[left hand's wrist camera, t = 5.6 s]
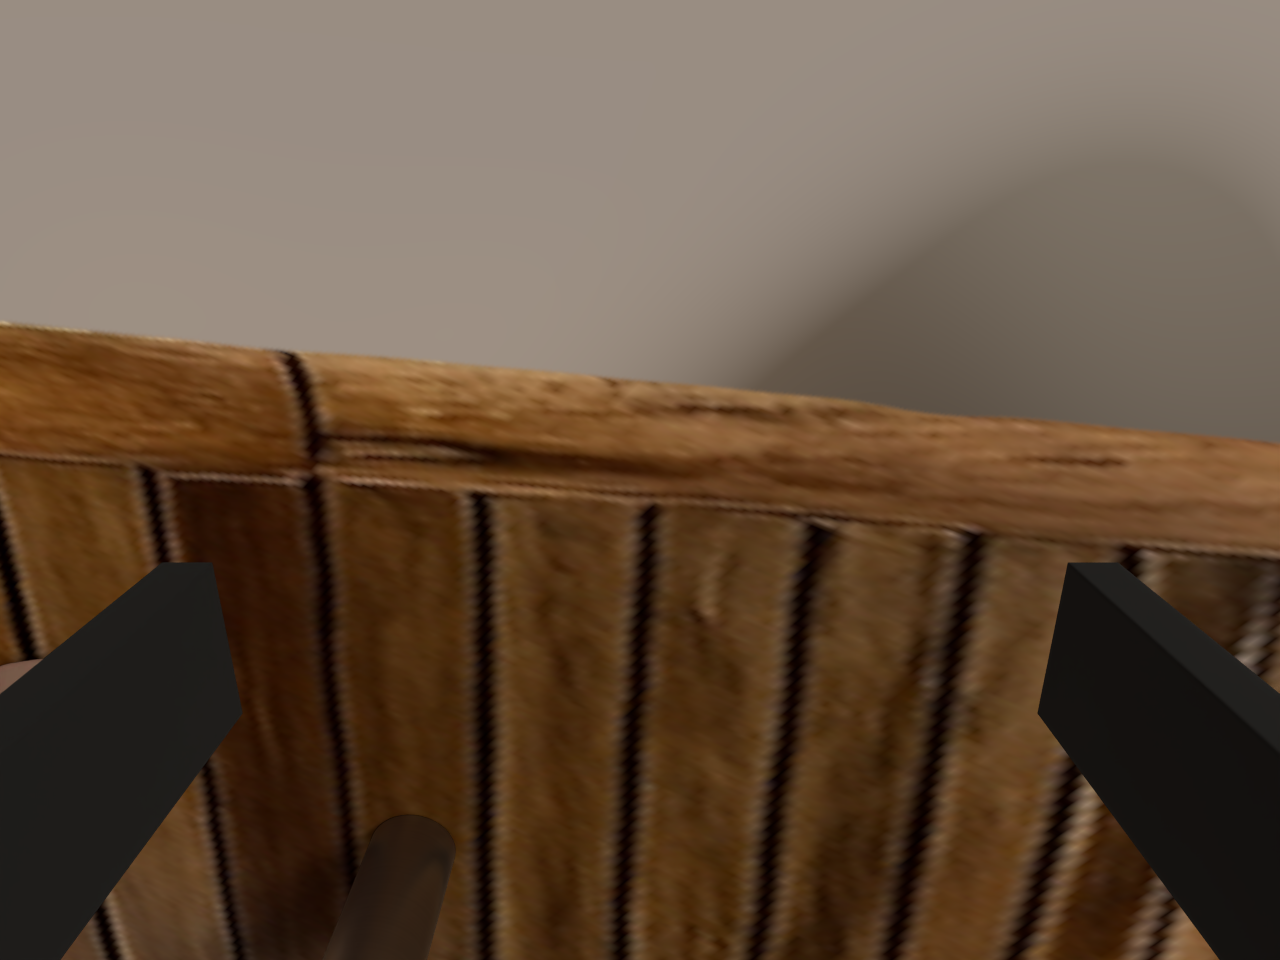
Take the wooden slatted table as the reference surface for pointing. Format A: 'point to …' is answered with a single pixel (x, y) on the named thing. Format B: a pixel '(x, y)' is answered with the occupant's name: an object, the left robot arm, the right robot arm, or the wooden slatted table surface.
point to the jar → (395, 893)
